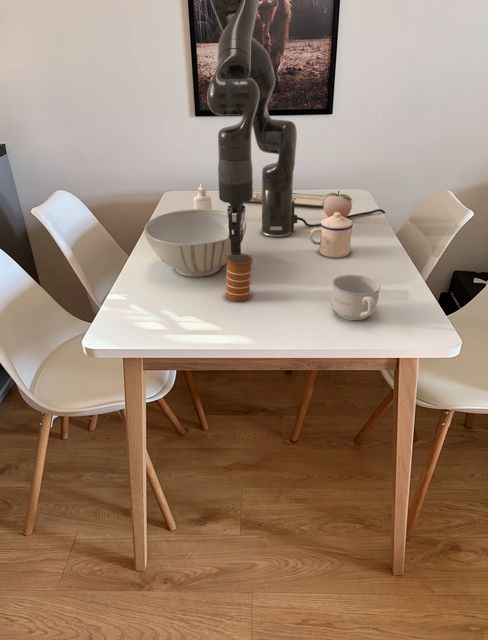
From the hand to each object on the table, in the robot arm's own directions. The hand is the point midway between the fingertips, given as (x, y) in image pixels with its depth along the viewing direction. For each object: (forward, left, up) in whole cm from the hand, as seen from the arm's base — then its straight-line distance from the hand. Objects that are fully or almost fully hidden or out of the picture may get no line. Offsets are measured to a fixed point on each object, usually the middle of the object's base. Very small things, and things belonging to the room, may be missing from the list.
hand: (237, 247), depth 132 cm
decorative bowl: (-1, -21, -13) cm, 25 cm away
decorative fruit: (-57, -25, -13) cm, 64 cm away
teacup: (-15, +25, -13) cm, 32 cm away
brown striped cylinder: (-3, +2, -8) cm, 9 cm away
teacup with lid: (-37, -7, -13) cm, 40 cm away
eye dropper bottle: (-23, -53, -13) cm, 59 cm away
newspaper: (-55, -53, -13) cm, 78 cm away
